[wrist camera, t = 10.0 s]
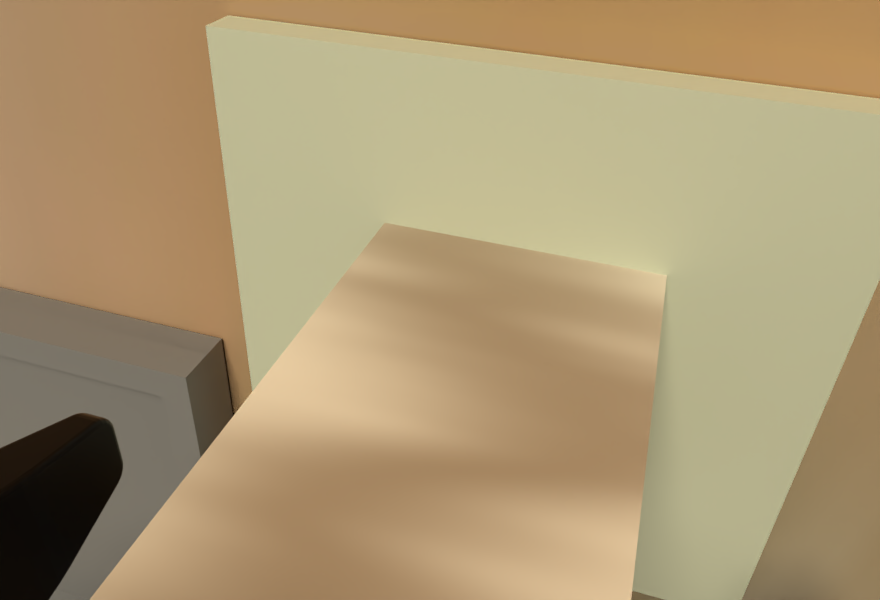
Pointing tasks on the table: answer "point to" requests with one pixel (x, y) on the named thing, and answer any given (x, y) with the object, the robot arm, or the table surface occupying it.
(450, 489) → the tan rectangular block
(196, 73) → the table surface
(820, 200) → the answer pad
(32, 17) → the table surface
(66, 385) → the tray
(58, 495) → the robot arm
